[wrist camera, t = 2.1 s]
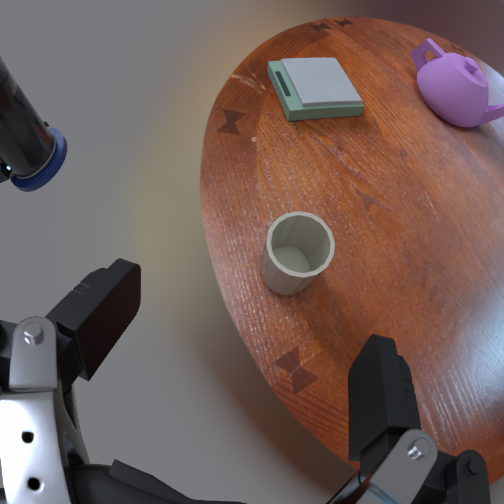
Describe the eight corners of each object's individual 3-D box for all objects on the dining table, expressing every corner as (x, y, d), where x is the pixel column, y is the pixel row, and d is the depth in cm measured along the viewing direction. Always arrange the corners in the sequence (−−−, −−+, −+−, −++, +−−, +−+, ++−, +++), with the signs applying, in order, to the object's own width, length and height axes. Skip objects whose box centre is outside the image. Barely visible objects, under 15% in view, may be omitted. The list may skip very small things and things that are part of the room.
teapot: (387, 82, 47) (410, 34, 35) (414, 59, 50) (433, 19, 39) (479, 158, 43) (516, 121, 31) (492, 122, 46) (520, 89, 35)
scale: (287, 121, 42) (290, 106, 39) (267, 72, 45) (268, 57, 42) (359, 116, 43) (365, 103, 40) (332, 69, 47) (336, 56, 44)
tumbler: (267, 300, 34) (276, 284, 26) (255, 250, 36) (259, 218, 27) (318, 288, 35) (342, 268, 26) (304, 239, 36) (323, 206, 28)
